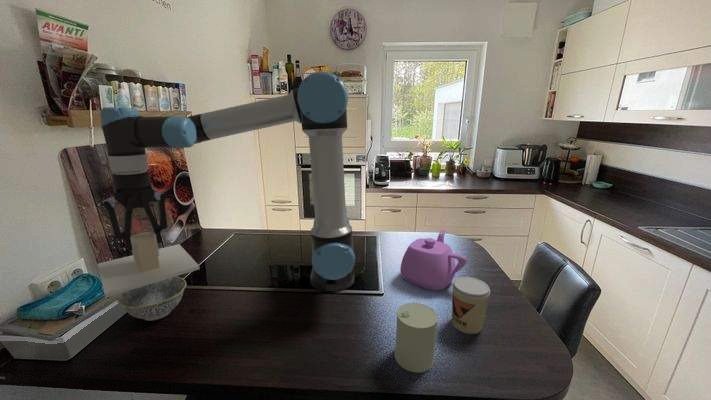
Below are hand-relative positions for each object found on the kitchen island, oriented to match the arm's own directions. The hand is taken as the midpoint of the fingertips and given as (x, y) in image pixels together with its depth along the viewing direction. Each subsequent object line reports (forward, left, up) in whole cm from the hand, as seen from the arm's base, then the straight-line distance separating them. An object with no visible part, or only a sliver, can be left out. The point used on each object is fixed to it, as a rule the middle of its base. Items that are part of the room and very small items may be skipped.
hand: (146, 257), depth 81 cm
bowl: (0, 0, -18) cm, 18 cm away
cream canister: (-63, -60, -18) cm, 89 cm away
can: (-60, -40, -18) cm, 74 cm away
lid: (0, 0, -3) cm, 3 cm away
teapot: (-42, -73, -18) cm, 86 cm away
